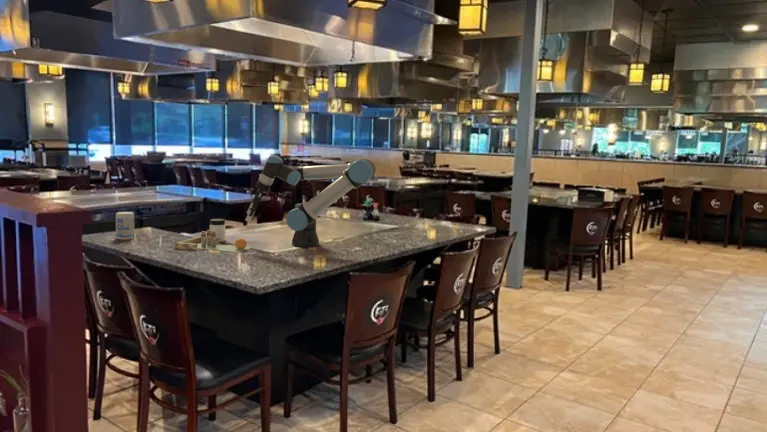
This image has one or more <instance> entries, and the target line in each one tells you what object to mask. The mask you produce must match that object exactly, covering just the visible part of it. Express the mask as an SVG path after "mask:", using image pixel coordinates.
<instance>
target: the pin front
mask: <svg viewBox="0 0 767 432" xmlns="http://www.w3.org/2000/svg"><path fill="white" fill-rule="evenodd" d="M211 242H212V243H211V244H212V247H216V231H211Z"/></svg>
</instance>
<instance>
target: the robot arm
mask: <svg viewBox="0 0 767 432" xmlns="http://www.w3.org/2000/svg"><path fill="white" fill-rule="evenodd" d="M283 162H284V161H283V159H282V158H281V157H279V156H278V155H275V154H270V155H269V156H268V158H267V160H266V162H265V164H264V166H263V169H262V170H261V173H259V174H258V176H259V177H258V180H257V181H256V183H255V188H256V189H257V190H256V191H255V194H254V196H253V198H252V200H251V203H250V205H249V207H248V209H247V211H246V214H247V216H246V218H245V219H244V221H246V222H248V223H251V222H252V220H253V217H254V214H255V213H256V211H257V208H258V206H259V204H260V202H261V200H262V198H263V197H264V192H265V193H268V192H270V189H271V188H272V185H273V183H274V181H275V179H276V177H277V178H279V179H280V180H282V181H284V182H285V183H288V184H289V185H291V186H297V184H298V183H299V182H300V181H308V180H309V181H312V180H330V179H335V180H334V181H333V182H332V183H331V184H329V185H328V186H327V187H325V188H324V189H323V190H322V191H320V192H319V193H318V194H317V195H315V196H314V197H312V198H311V199H309V200H308V201H302V202H301V203H296V204H295V205H294V206H295V207H294V208H293V209H291V210H290V211H288V213H287V214H286V218H285V221H286V225H287V226H288V228H289V229H291V230H293V231H294V233H293V235H292V239H291V245H292V246H294V247H300V248H311V247H319V245H320V239H319V237H318V236H319V235H318V233H317V219H318V217H319V215H320V214H321V213H322V212H323V211H325V210H326V209H327V208H328V207H330V206H331V205H333V204H334V203H335V202H337V201H338V200H339V199H341V198H342V197H343V196H345V195H346V194H347V193H348V192H350V191H351V190H352V189H358V188H360V187H361V186H362V185H364V184H365V183H366V182H368V181H370V180H371V179H372V178H374V176H375V174H376V166H375V164H374V163H373V161H372V160H369V159H366V158H365V159H364V158H362V159H356V160H354V161H350V162H349V163H339V164H322V165H308V166H304V165H303V166H292V167H289V166H287V165H286V164H283Z"/></svg>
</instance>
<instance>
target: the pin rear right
mask: <svg viewBox="0 0 767 432" xmlns="http://www.w3.org/2000/svg"><path fill="white" fill-rule="evenodd" d="M206 237H207V246H211V244H212V243H211V230H210V229H207V230H206Z"/></svg>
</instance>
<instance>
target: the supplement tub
mask: <svg viewBox="0 0 767 432" xmlns="http://www.w3.org/2000/svg"><path fill="white" fill-rule="evenodd" d="M115 238H116V239H117V240H121V241H126V240H127V241H128V240H133V239H135V213H134V212H133V211H119V212H116V213H115Z"/></svg>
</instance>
